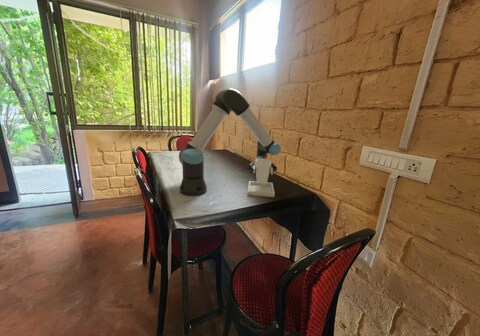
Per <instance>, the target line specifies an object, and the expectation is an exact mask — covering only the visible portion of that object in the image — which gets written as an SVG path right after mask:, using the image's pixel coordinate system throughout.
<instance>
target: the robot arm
mask: <svg viewBox="0 0 480 336" xmlns="http://www.w3.org/2000/svg"><path fill="white" fill-rule="evenodd" d="M211 107H212V109H211V110H210V111H209V114H208V115H207V117H206V118H205V120H204V121H203V123H202V125H201V126H200V127H199V129H198V131H197V132H196V134H195V136H194V137H193V138H192V140H191V141H187V143H186V144H185V146H184V147H183V148H181V150H180V151H179V153H178V159H179V163H180V164H181V166H182V167H181V168H182V179H181V183H180V186H179V192H180V193H181V194H182V195H185V196H201V195H202V194H205V193H206V192H207V191H208V190H207V189H208V188H207V183H206V181H205V175H204V174H205V172H204V171H205V166H204V165H205V163H204V162H205V161H204V160H205V156H204V155H205V154H204V153H205V150H204V149H205V147H206V145H207V144H208V142H209V141H210V140H211V138H213V137H212V136H213V135H214V134H215V132H216V131H217V130H218V128H219V126H220V124H221V122H223V120H224V119H225V117H229V116H230V114H231V113H234V115H235V116H236V117H239V118H240V119H241V120H242V122H243V123H244V125H245V126H246V127H247V128H248V129H249V130H250V132H251V133H252V134H253V136H254V137H255V138H256V140H257V143H256V145H257V146H256V158H255V160H256V159H260V158H262V159H268V154H269V155H273V156H277V155H279V154H280V153H281V151H282V147H281V145H280V144H278V143H277V142H275V140H274V139H273V138H272V137H271V135H270V134H269V132H268V131H267V130H266V128H265V127H264V125H262V123H261V122H260V120H259V119H258V118H257V116H256V115H255V113H254V112H253V111H252V109H251V108H250V107H251V106H250V103H249V102H248V100H246V98H245V97H244V95H243V94H242V93H241V92H240V91H239V90H238V89H235V88H229V89H223V90H221V91H219V92H218V93H217V95H216V96H215V100H214V101H213V103H212V105H211ZM248 170H251V171H252V172H253V174H256V166H255V161H251V163H249V164H248ZM277 170H278V167H277V166H276V164H274V162H272V163H271V167H270V174H271V175H273V174H274V172H277Z"/></svg>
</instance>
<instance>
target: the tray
mask: <svg viewBox="0 0 480 336" xmlns="http://www.w3.org/2000/svg"><path fill="white" fill-rule="evenodd" d="M275 194H276V193H275V188H274V184H273V182H268V181H267V183H258V182H257V180H256V181H253V180H249V181H248V189H247V196H250V197H265V198H266V197H267V198H275Z"/></svg>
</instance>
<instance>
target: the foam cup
mask: <svg viewBox="0 0 480 336" xmlns="http://www.w3.org/2000/svg"><path fill="white" fill-rule="evenodd" d="M272 161H273V160H271V159H269V158H267V159H262V158H260V159H256V158H255V160H254V163H255V166H256V169H255V176H256V178H255V179H256V182H258V183H267V182H268V179H269V175H270V172H271V170H270V167H271V163H273V162H272Z"/></svg>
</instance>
